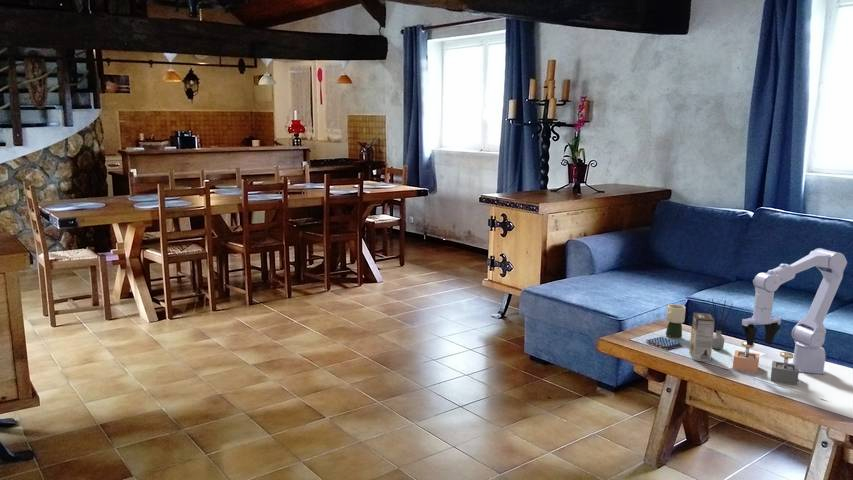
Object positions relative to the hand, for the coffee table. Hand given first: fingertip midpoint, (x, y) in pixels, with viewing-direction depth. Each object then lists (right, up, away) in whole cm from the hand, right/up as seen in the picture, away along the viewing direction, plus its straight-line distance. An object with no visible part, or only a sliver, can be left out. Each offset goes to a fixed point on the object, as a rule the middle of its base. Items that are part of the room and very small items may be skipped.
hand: (758, 344), depth 236 cm
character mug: (-16, -3, +39) cm, 43 cm away
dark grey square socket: (+6, -11, -5) cm, 14 cm away
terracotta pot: (-2, -9, +5) cm, 11 cm away
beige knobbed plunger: (+6, -8, -6) cm, 11 cm away
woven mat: (-24, -5, +29) cm, 38 cm away
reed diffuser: (-5, -6, +26) cm, 27 cm away
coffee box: (-15, -7, +15) cm, 22 cm away
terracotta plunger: (-2, -6, +5) cm, 7 cm away
